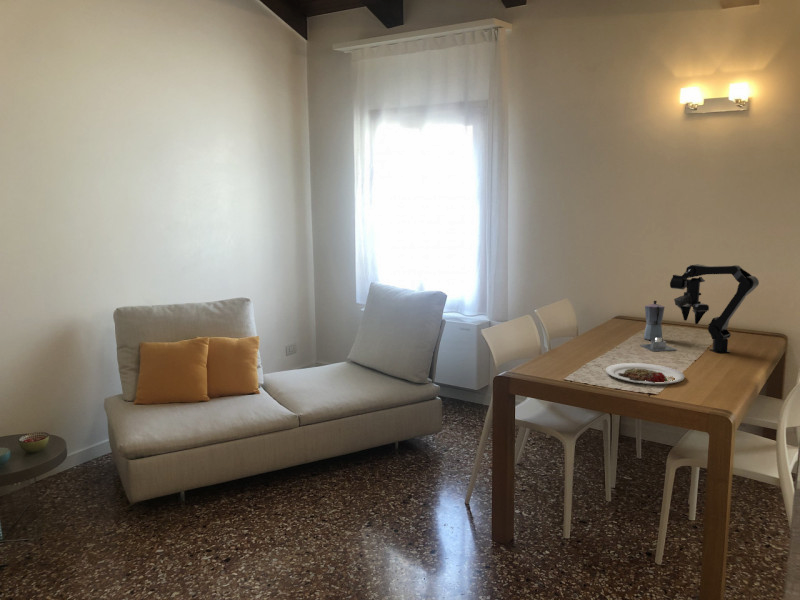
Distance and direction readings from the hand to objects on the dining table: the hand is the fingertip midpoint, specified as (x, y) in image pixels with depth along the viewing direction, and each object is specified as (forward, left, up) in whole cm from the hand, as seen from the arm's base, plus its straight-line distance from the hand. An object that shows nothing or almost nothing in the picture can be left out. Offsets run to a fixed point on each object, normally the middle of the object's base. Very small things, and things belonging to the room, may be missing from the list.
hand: (690, 322), depth 310 cm
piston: (-1, +17, -12) cm, 21 cm away
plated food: (-46, +49, -13) cm, 68 cm away
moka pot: (+17, +9, -12) cm, 23 cm away
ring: (-1, +17, -11) cm, 20 cm away
